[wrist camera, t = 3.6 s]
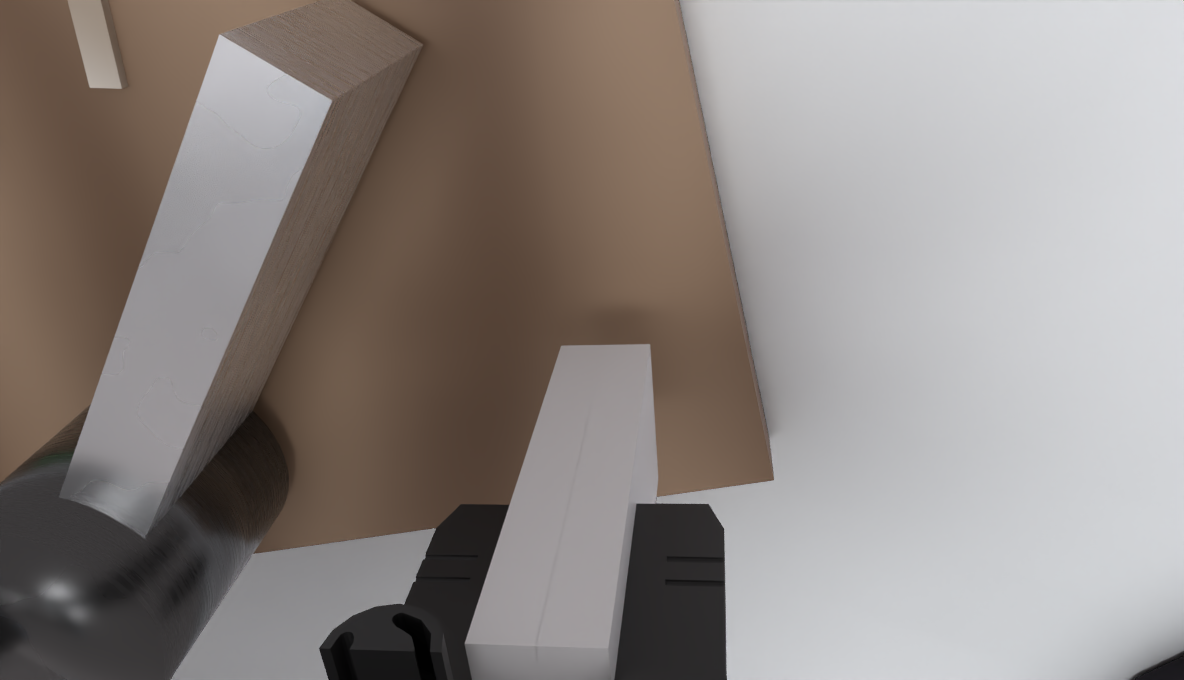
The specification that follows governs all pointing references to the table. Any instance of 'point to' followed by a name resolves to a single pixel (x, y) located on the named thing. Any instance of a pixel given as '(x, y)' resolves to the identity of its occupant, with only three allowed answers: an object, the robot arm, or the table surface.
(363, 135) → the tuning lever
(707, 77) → the table surface
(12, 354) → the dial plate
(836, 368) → the table surface
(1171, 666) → the portable speaker
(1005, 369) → the table surface
